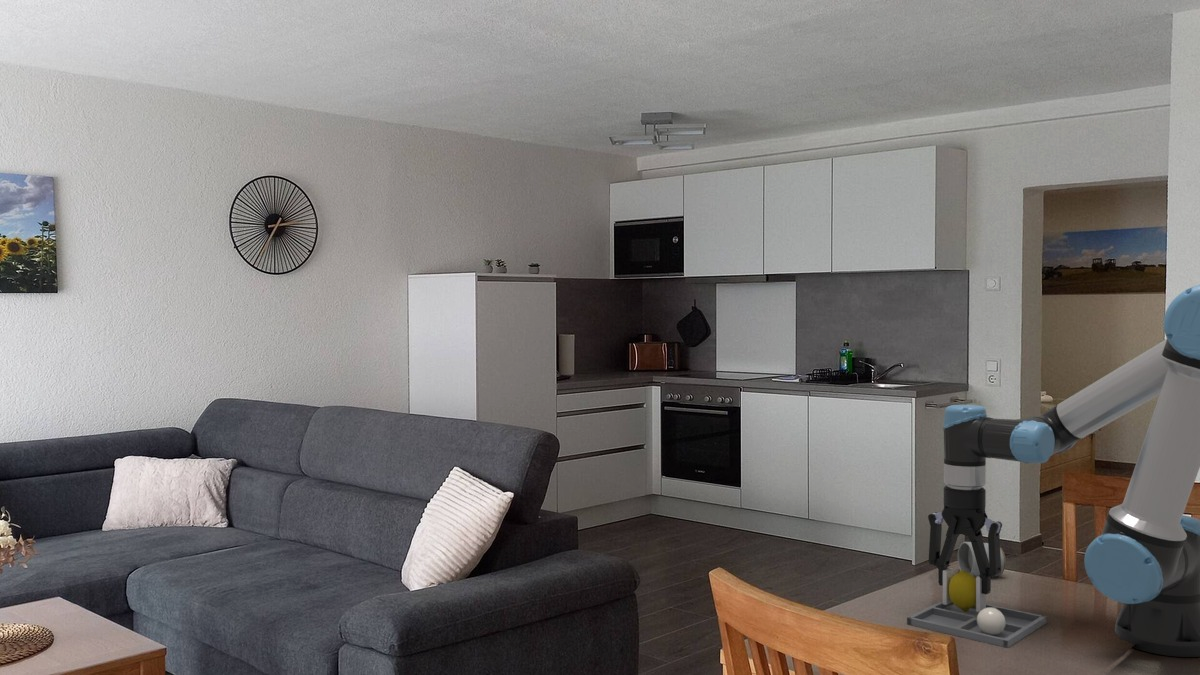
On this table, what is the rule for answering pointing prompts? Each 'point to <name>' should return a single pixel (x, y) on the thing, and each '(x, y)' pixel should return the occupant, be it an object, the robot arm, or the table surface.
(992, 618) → the cream egg
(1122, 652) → the table surface
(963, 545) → the ceramic mug
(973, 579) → the lemon
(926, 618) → the compartment tray
